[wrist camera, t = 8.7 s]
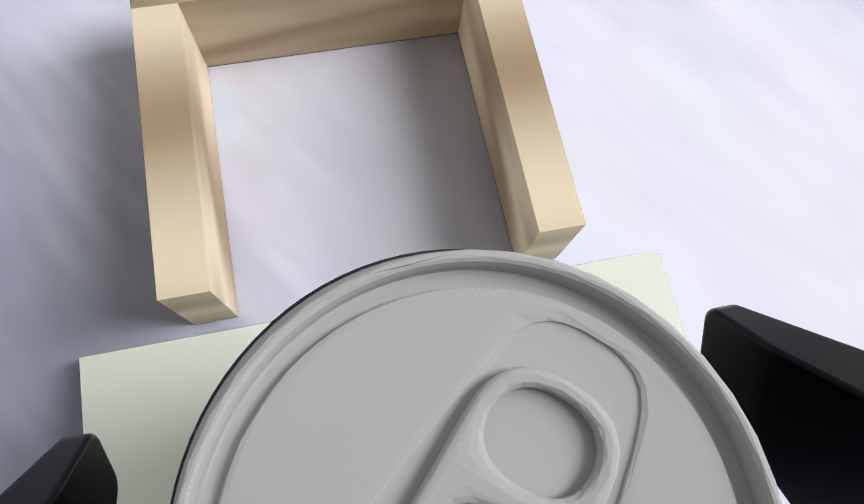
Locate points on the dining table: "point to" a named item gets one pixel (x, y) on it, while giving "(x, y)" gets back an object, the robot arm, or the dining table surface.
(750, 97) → the dining table surface
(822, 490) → the robot arm
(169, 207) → the frame
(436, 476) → the beverage can
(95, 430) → the sage pad
